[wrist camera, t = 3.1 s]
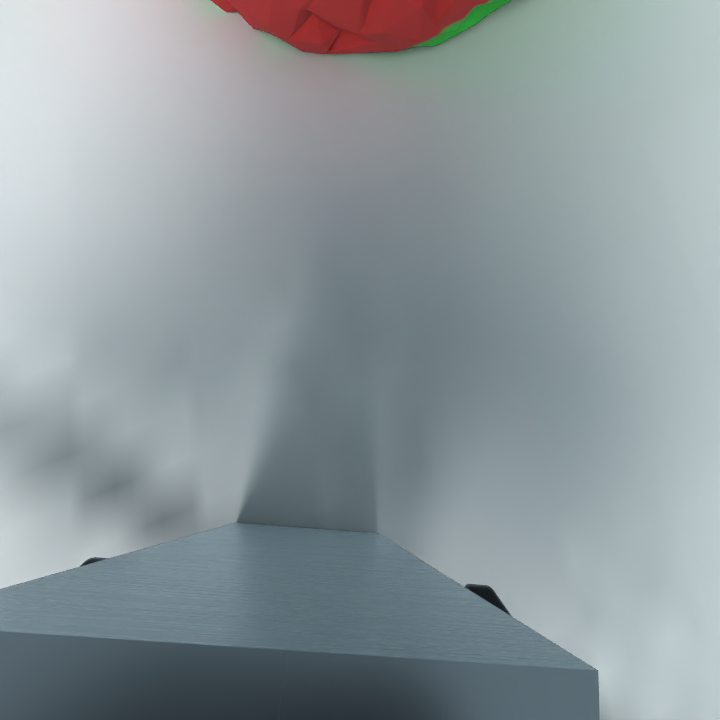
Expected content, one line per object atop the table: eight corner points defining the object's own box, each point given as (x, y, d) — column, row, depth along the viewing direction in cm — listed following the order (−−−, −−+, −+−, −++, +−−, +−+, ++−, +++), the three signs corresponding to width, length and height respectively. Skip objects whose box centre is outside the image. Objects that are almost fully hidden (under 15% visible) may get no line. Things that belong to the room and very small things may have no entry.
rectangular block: (367, 690, 15) (626, 1767, 2) (216, 681, 15) (-433, 1803, 2) (378, 533, 16) (598, 671, 3) (236, 522, 16) (-121, 623, 3)
